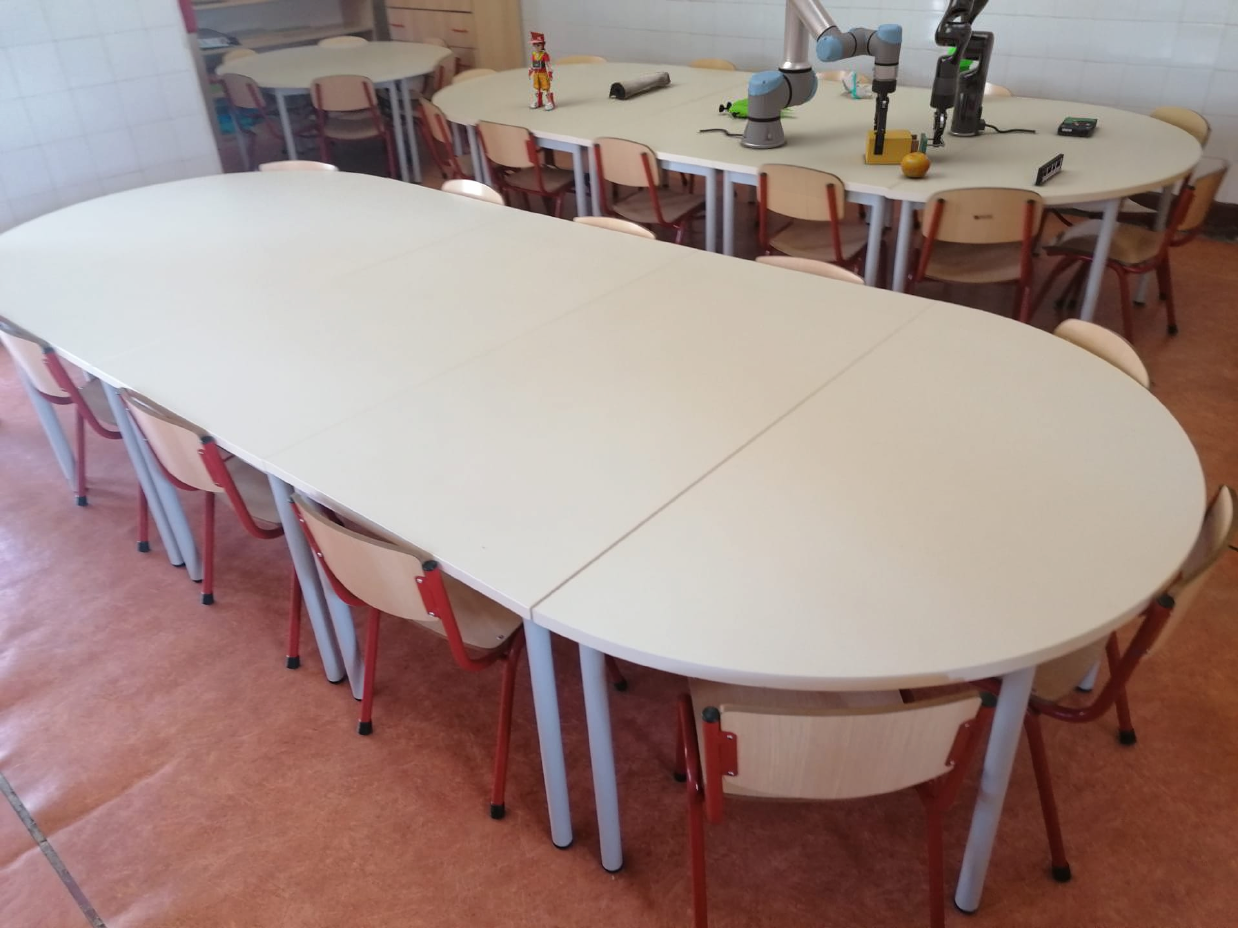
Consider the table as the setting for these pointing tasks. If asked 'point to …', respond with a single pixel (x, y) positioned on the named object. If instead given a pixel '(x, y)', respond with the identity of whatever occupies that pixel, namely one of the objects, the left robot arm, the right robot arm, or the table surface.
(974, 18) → the right robot arm
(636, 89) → the rolled mat
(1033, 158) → the table surface
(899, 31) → the left robot arm
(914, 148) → the drawer
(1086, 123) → the disk drive
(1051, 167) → the midi keyboard
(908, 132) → the cabinet
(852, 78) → the anatomical model
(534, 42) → the toy
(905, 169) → the fruit
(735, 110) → the toy
